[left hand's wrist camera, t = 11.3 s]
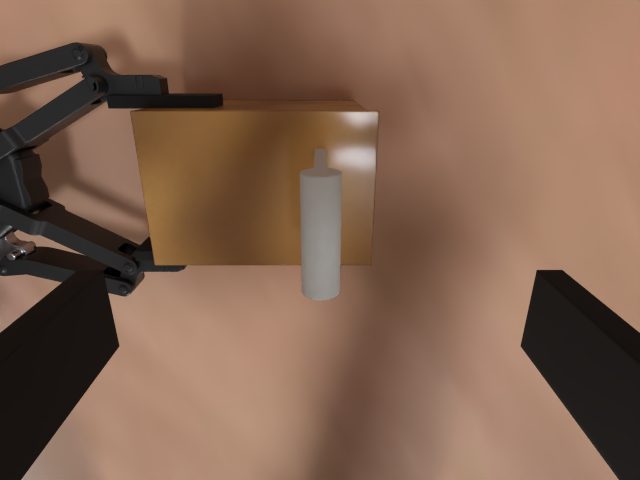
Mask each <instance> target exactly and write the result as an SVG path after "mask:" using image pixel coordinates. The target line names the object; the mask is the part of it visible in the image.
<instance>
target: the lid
mask: <svg viewBox="0 0 640 480" xmlns="http://www.w3.org/2000/svg"><path fill="white" fill-rule="evenodd" d="M130 114H131V120H132V126H133V132H134V138H135V145H136V151H137V157H138V163H139V169H140V176H141V182H142V188H143V194H144V201H145V207H146V213H147V219H148V225H149V232H150V238H151V244H152V250H153V256H154V263H155V265H301V268H302V293H303V294H304V296H306V297H307V298H310V299H313V300H329V299H332V298H334V297H336V296H337V295H338V294H339V292H340V265H371V262H372V242H373V222H374V202H375V182H376V162H377V142H378V122H379V111H377V110H134V111H130Z"/></svg>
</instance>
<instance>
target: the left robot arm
mask: <svg viewBox="0 0 640 480" xmlns="http://www.w3.org/2000/svg"><path fill="white" fill-rule="evenodd" d="M118 347H119V342H118V338H117V333H116V328H115V323H114V319H113V314H112V309H111V305H110V300H109V295H108V291H107V286H106V281H105V277H104V272H103V270H77V271H76V272H75V273H74V274H72V275H71V276H70V277H69V278H67V279H66V280H65V281H64V282H62V283H61V284H60V285H59V286H58V287H56V288H55V289H54V290H53V291H51V292H50V293H49V294H48V295H46V296H45V297H44V298H43V299H42V300H40V301H39V302H38V303H37V304H35V305H34V306H33V307H32V308H30V309H29V310H28V311H27V312H26V313H24V314H23V315H22V316H21V317H19V318H18V319H17V320H16V321H14V322H13V323H12V324H11V325H10V326H8V327H7V328H6V329H5V330H3V331H2V332H1V333H0V480H21V479H22V478H23V476H24V475H25V474H26V472H27V471H28V470H29V468H30V467H31V465H32V464H33V463H34V461H35V460H36V459H37V457H38V456H39V455H40V453H41V452H42V451H43V449H44V448H45V446H46V445H47V444H48V442H49V441H50V440H51V438H52V437H53V436H54V434H55V433H56V431H57V430H58V429H59V427H60V426H61V425H62V423H63V422H64V421H65V419H66V418H67V417H68V415H69V414H70V412H71V411H72V410H73V408H74V407H75V406H76V404H77V403H78V402H79V400H80V399H81V398H82V396H83V395H84V393H85V392H86V391H87V389H88V388H89V387H90V385H91V384H92V383H93V381H94V380H95V379H96V377H97V376H98V374H99V373H100V372H101V370H102V369H103V368H104V366H105V365H106V364H107V362H108V361H109V359H110V358H111V357H112V355H113V354H114V353H115V351H116V350H117V349H118ZM521 347H522V349H523V350H524V351H525V353H526V354H527V355H528V357H529V358H530V359H531V361H532V362H533V364H534V365H535V366H536V368H537V369H538V370H539V372H540V373H541V374H542V376H543V377H544V379H545V380H546V381H547V383H548V384H549V385H550V387H551V388H552V389H553V391H554V392H555V393H556V395H557V396H558V398H559V399H560V400H561V402H562V403H563V404H564V406H565V407H566V408H567V410H568V411H569V412H570V414H571V415H572V417H573V418H574V419H575V421H576V422H577V423H578V425H579V426H580V427H581V429H582V430H583V431H584V433H585V434H586V436H587V437H588V438H589V440H590V441H591V442H592V444H593V445H594V446H595V448H596V449H597V451H598V452H599V453H600V455H601V456H602V457H603V459H604V460H605V461H606V463H607V464H608V465H609V467H610V468H611V470H612V471H613V472H614V474H615V475H616V476H617V478H618V479H619V480H640V333H639V332H638V331H637V330H635V329H634V328H633V327H632V326H630V325H629V324H628V323H627V322H626V321H624V320H623V319H622V318H621V317H619V316H618V315H617V314H616V313H614V312H613V311H612V310H611V309H610V308H608V307H607V306H606V305H605V304H603V303H602V302H601V301H600V300H598V299H597V298H596V297H595V296H594V295H592V294H591V293H590V292H589V291H587V290H586V289H585V288H584V287H582V286H581V285H580V284H579V283H578V282H576V281H575V280H574V279H573V278H571V277H570V276H569V275H568V274H566V273H565V272H564V271H563V270H537V272H536V277H535V281H534V286H533V291H532V295H531V300H530V305H529V309H528V314H527V319H526V323H525V328H524V333H523V338H522V342H521Z"/></svg>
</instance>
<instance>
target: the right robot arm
mask: <svg viewBox="0 0 640 480" xmlns="http://www.w3.org/2000/svg"><path fill="white" fill-rule="evenodd" d="M77 72H82V74H83V76H82V78H85V79H84V80H82V81H81V82H79V83H78V84H76V85H75V86H73V87H72V88H70V89H69V90H67V91H66V92H64V93H63V94H61V95H60V96H58V97H57V98H55V99H54V100H52V101H51V102H49V103H48V104H46V105H45V106H43V107H42V108H40V109H39V110H37V111H36V112H34V113H33V114H31V115H30V116H28V117H27V118H25V119H24V120H22V121H21V122H19V123H18V124H16V125H15V126H13V127H11V128H8V129H6V130H3V129H1V128H0V275H1V276H11V275H24V274H28V275H32V276H37V277H41V278H45V279H50V280H54V281H58V282H64V281H65V280H66V279H67V278H69V277H70V276H71V275H72V274H74V273H75V272H76V271H77V270H103V272H104V277H105V281H106V286H107V291H108V293H111V294H115V295H120V296H129V295H130V294H131V293H132V292H133V291H134V289H135V288H136V287H137V286H138V285H139V284H140V282H141V281H142V280H143V279H144V277H145V276H144V272H164V271H165V272H169V271H170V272H178V271H181V270H183V269H185V267H186V266H187V265H155V263H154V256H153V250H152V244H151V238H150V237H148V238H147V239H146V240H145V241H144V242H143V243H142V244H141V245H139V244H136V243H134V242H132V241H130V240H128V239H126V238H124V237H121V236H119V235H117V234H115V233H113V232H111V231H109V230H107V229H104V228H102V227H100V226H98V225H96V224H94V223H92V222H89V221H87V220H85V219H83V218H81V217H79V216H77V215H75V214H72V213H70V212H68V211H66V210H65V207H64V206H63V205H61V204H59V203H57V202H55V201H53V200H51V199H49V198H48V197H49V193H48V189H47V186H46V184H45V182H44V180H43V178H42V176H41V168H42V165H41V161H40V157H39V154H35V153H34V152H33V150H34V149H36V148H37V147H39V146H40V145H42V144H43V143H45V142H46V141H48V140H49V138H50V137H52V136H53V135H55V134H56V133H58V132H59V131H61V130H62V129H64V128H65V127H67V126H69V125H70V124H72V123H73V122H75V121H76V120H78V119H79V118H81V117H83V116H84V115H86V114H87V113H89V112H90V111H92V110H93V109H95V108H96V107H98V106H100V105H101V104H103V103H104V102H106V101H107V102H108V108H216V107H219V106H222V105H223V96H222V94H169V91H168V83H167V78H165V77H162V76H160V75H119V74H117V73H115V72H114V71H113V70H112V69H111V67H110V66H109V64H108V62H107V53H106V51H105V50H104V49H103V48H102V47H101V46H98V45H92V44H84V43H71V44H68V45H65V46H62V47H58V48H55V49H52V50H49V51H46V52H42V53H39V54H36V55H33V56H30V57H27V58H23V59H20V60H17V61H14V62H11V63H8V64H4V65H1V66H0V94H6V93H12V92H16V91H19V90H22V89H25V88H29V87H32V86H35V85H38V84H42V83H45V82H48V81H51V80H55V79H58V78H61V77H64V76H68V75H71V74H74V73H77ZM17 230H20V231H23V232H25V233H27V234H30V235H41V236H44V237H46V238H48V239H51V240H53V241H55V242H57V243H59V244H62V245H64V246H66V247H68V248H70V249H73V250H75V251H77V252H79V253H81V254H84V255H81V254H76V253H72V252H68V251H64V250H59V249H55V248H50V247H36V244H35V243H34V242H33V241H29V242H27V241H22V240H20V239H18V238H17V237H16V236H15V234H14V232H15V231H17ZM85 255H86V256H85Z"/></svg>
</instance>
